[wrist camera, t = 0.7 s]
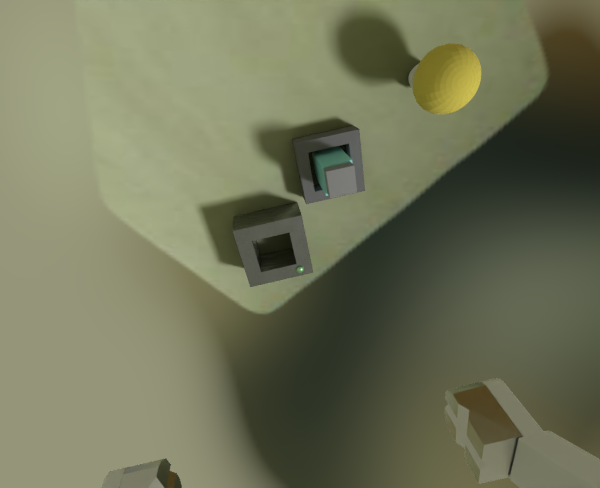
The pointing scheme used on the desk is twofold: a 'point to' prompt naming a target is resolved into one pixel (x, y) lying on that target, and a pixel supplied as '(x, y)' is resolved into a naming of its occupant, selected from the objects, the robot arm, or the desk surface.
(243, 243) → the port
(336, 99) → the desk surface
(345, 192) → the plug
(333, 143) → the frame
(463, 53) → the light bulb
